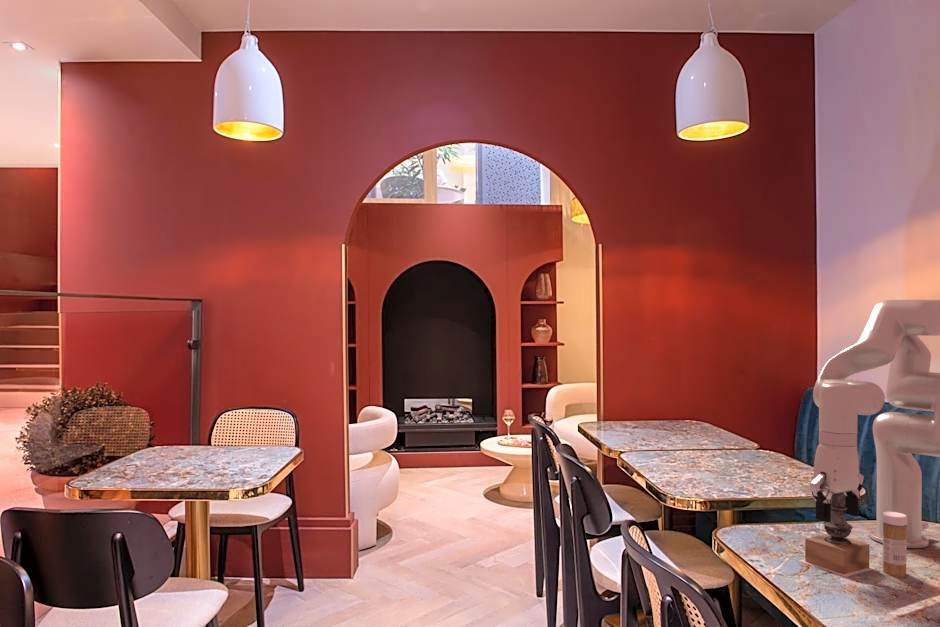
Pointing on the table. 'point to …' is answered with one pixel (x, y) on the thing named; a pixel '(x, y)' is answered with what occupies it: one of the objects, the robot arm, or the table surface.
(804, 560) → the grey flat slab
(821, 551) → the walnut block
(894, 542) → the sprinkles bottle
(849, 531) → the dark grey chess piece
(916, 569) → the table surface
